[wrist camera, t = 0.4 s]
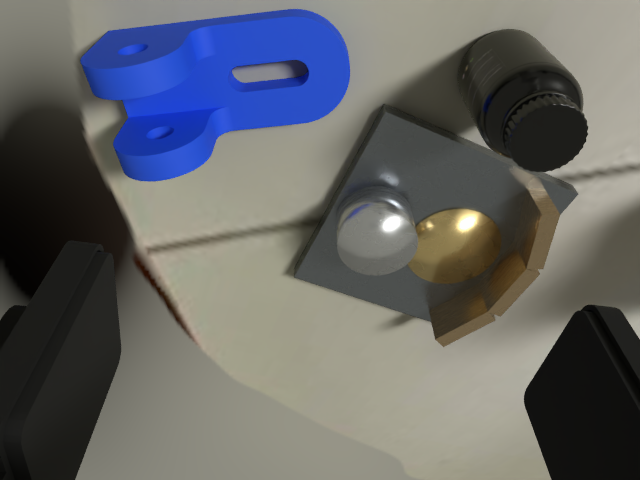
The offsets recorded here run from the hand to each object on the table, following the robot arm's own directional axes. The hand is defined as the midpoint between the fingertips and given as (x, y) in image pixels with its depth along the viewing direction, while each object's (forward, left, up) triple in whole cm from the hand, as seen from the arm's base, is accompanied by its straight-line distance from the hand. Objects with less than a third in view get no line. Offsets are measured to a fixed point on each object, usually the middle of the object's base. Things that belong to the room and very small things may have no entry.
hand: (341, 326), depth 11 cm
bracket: (+10, -4, -35) cm, 36 cm away
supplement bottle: (+1, +15, -34) cm, 38 cm away
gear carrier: (+17, +17, -34) cm, 42 cm away
